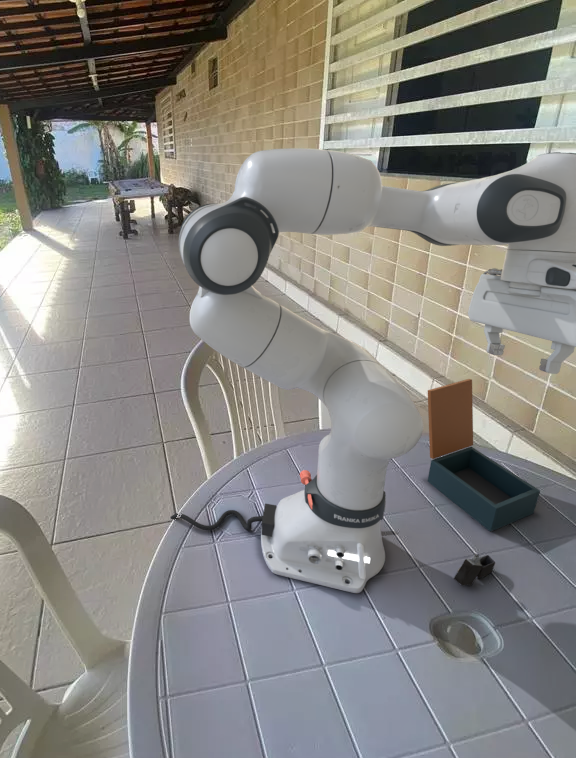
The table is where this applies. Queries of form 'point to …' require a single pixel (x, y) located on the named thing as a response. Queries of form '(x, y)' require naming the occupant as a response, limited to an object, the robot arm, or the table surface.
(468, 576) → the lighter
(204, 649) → the table surface
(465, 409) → the cover
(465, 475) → the black flat slab
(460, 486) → the case
